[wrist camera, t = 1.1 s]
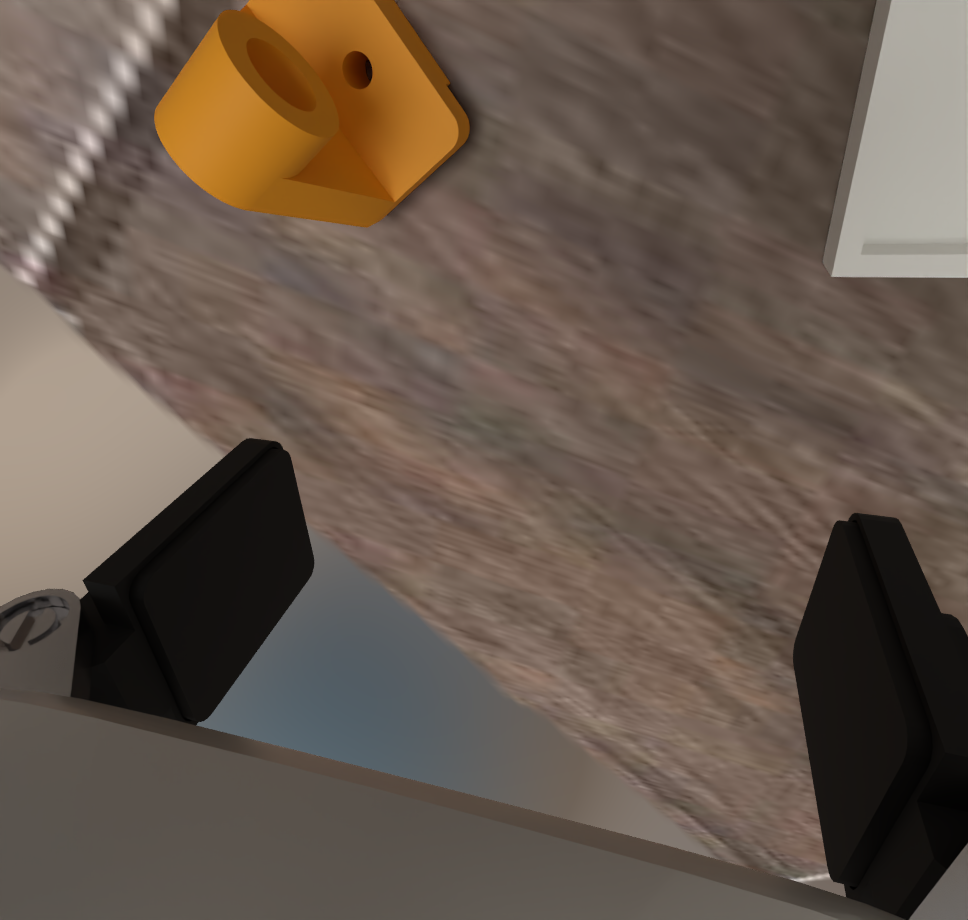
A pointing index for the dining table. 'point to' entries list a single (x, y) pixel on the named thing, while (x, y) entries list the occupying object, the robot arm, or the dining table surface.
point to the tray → (907, 149)
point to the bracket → (311, 110)
